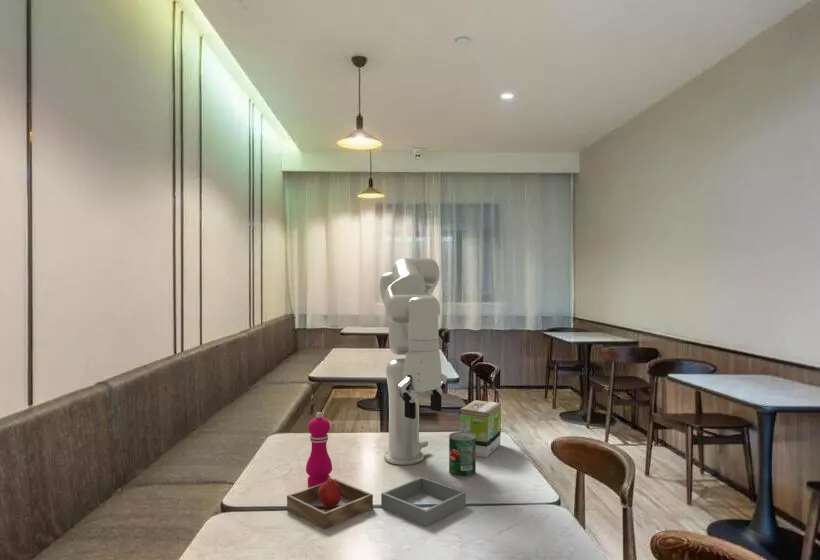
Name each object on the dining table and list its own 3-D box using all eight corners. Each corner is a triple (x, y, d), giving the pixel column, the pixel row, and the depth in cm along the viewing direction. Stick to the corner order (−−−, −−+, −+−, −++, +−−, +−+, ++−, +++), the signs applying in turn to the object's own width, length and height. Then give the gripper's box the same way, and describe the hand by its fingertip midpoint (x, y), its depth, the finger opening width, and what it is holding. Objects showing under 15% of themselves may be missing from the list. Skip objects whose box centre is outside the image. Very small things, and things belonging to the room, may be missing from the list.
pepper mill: (326, 489, 145) (326, 416, 145) (301, 487, 146) (301, 414, 146) (335, 479, 152) (335, 409, 152) (311, 477, 154) (311, 408, 153)
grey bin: (421, 489, 145) (421, 476, 145) (465, 506, 135) (465, 492, 135) (381, 507, 134) (381, 493, 134) (426, 526, 124) (426, 511, 124)
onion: (319, 504, 136) (319, 473, 136) (342, 503, 136) (342, 472, 136) (317, 514, 130) (317, 481, 130) (341, 513, 131) (341, 481, 130)
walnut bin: (334, 491, 144) (334, 478, 144) (372, 508, 134) (372, 494, 133) (287, 509, 133) (287, 495, 133) (324, 529, 123) (324, 514, 123)
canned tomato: (443, 472, 158) (443, 435, 158) (461, 466, 163) (461, 430, 163) (462, 480, 152) (463, 441, 152) (481, 473, 157) (481, 436, 157)
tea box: (488, 458, 170) (488, 411, 170) (458, 453, 175) (458, 408, 174) (501, 444, 184) (501, 401, 184) (473, 440, 188) (473, 398, 188)
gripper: (434, 341, 143) (434, 405, 143) (388, 348, 130) (388, 418, 131) (456, 344, 138) (456, 410, 138) (410, 351, 125) (410, 424, 125)
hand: (423, 414), depth 134 cm, fingers open, 9 cm apart
